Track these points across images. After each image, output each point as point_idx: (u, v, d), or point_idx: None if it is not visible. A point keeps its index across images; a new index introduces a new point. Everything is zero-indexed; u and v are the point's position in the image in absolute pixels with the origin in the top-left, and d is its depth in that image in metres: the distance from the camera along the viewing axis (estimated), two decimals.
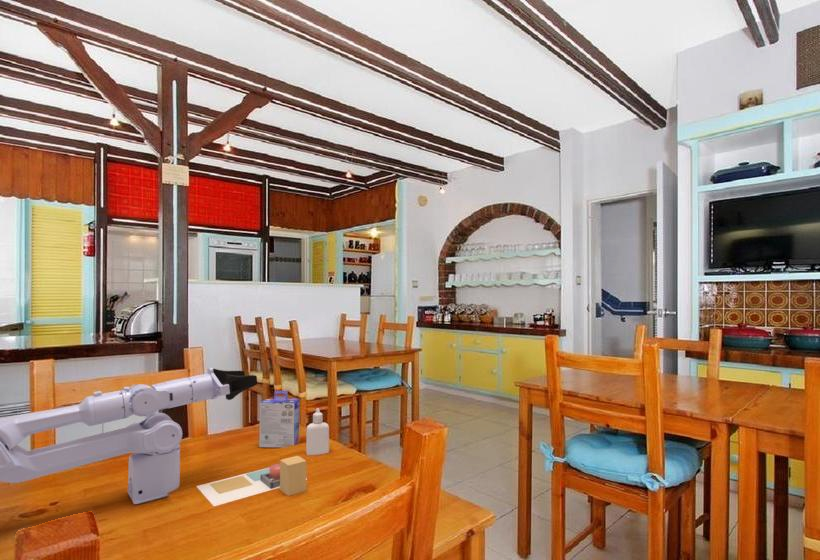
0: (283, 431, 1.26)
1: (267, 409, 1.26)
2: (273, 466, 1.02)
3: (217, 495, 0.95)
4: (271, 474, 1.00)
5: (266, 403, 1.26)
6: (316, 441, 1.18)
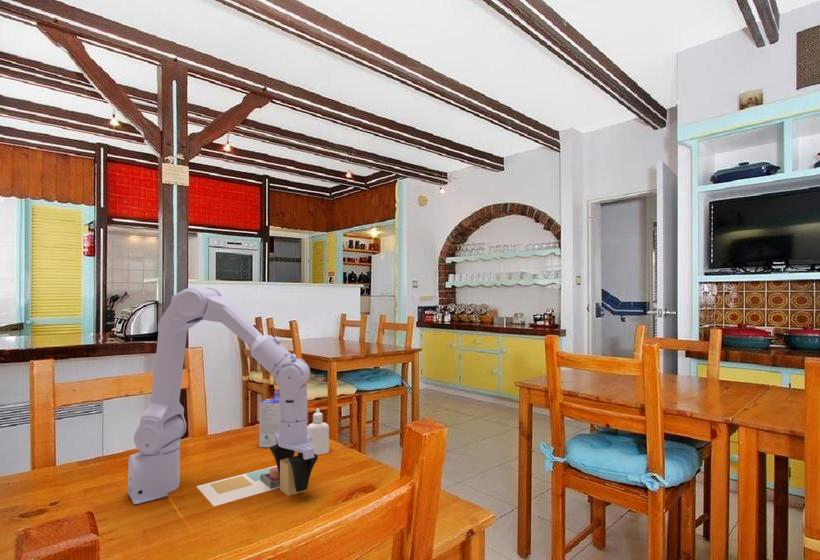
0: None
1: (267, 409, 1.26)
2: (273, 469, 1.02)
3: (217, 495, 0.95)
4: (271, 477, 1.00)
5: (266, 403, 1.26)
6: (316, 441, 1.18)
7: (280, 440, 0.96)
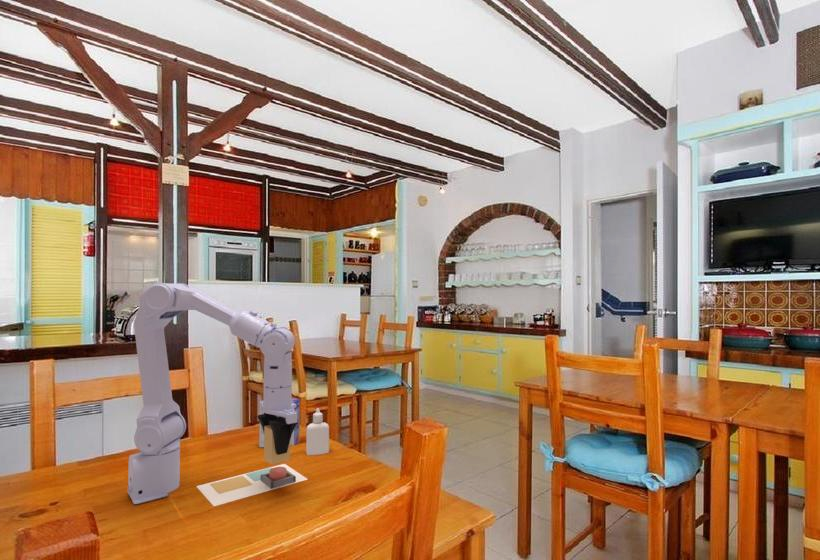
0: None
1: None
2: (273, 469, 1.02)
3: (217, 495, 0.95)
4: (271, 478, 1.00)
5: None
6: (316, 441, 1.18)
7: (264, 406, 0.97)
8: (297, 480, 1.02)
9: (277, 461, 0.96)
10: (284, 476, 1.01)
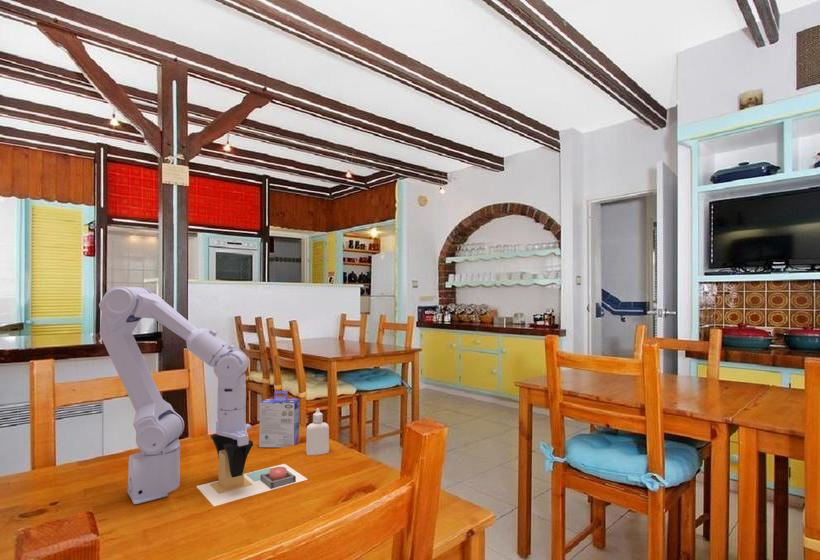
0: (283, 431, 1.26)
1: (267, 409, 1.26)
2: (273, 469, 1.02)
3: (217, 495, 0.95)
4: (271, 478, 1.00)
5: (266, 403, 1.26)
6: (316, 441, 1.18)
7: (218, 428, 0.99)
8: (297, 480, 1.02)
9: (230, 486, 0.98)
10: (284, 476, 1.01)
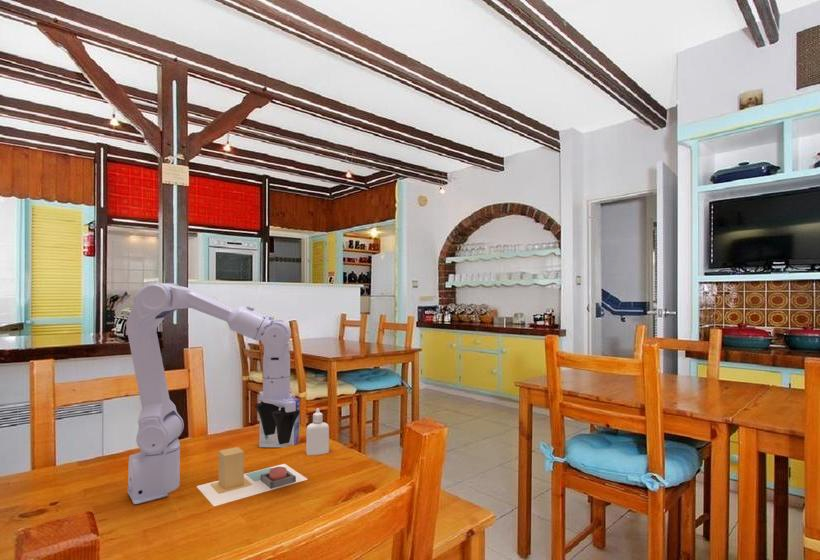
0: None
1: None
2: (273, 469, 1.02)
3: (217, 495, 0.95)
4: (271, 478, 1.00)
5: None
6: (316, 441, 1.18)
7: (264, 396, 1.00)
8: (297, 480, 1.02)
9: (230, 486, 0.98)
10: (284, 476, 1.01)
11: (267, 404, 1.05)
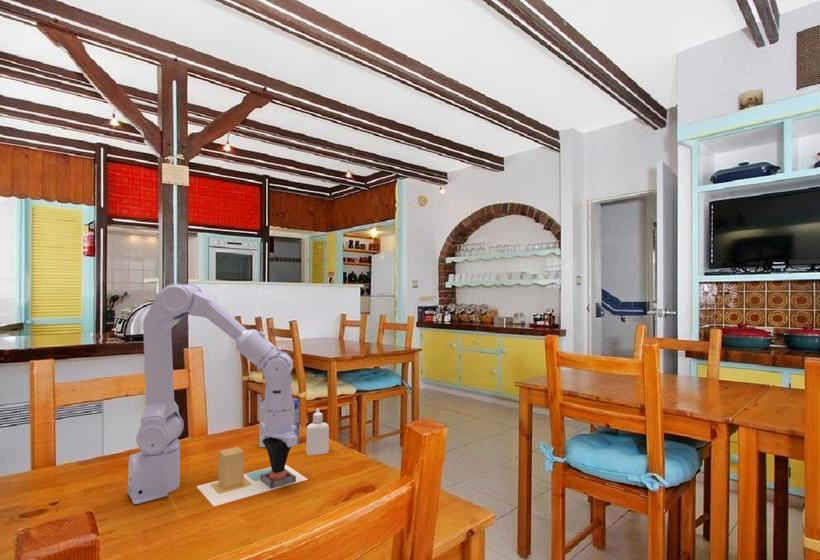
0: None
1: None
2: None
3: (217, 495, 0.95)
4: (271, 479, 1.00)
5: None
6: (316, 441, 1.18)
7: (265, 429, 1.00)
8: (297, 480, 1.02)
9: (230, 486, 0.98)
10: (284, 477, 1.01)
11: None
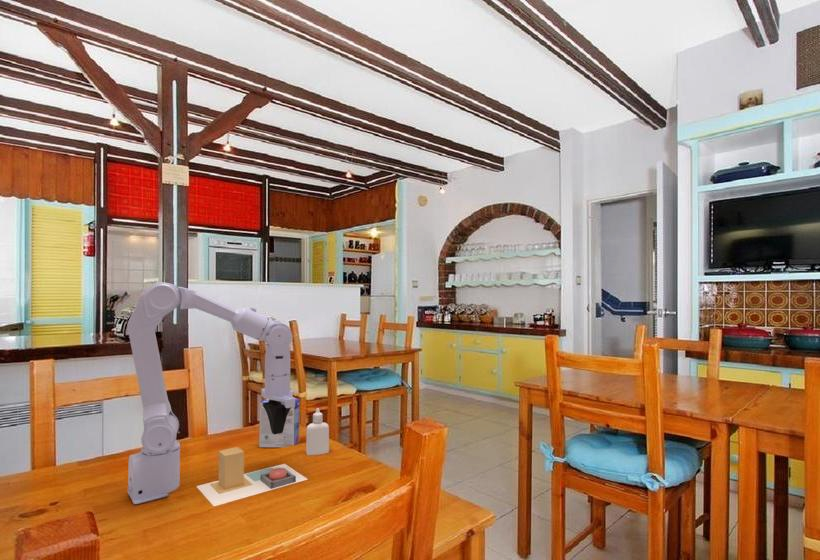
0: (283, 431, 1.26)
1: None
2: (273, 471, 1.02)
3: (217, 495, 0.95)
4: (271, 479, 1.00)
5: None
6: (316, 441, 1.18)
7: (265, 392, 1.06)
8: (297, 480, 1.02)
9: (230, 486, 0.98)
10: (284, 477, 1.01)
11: None
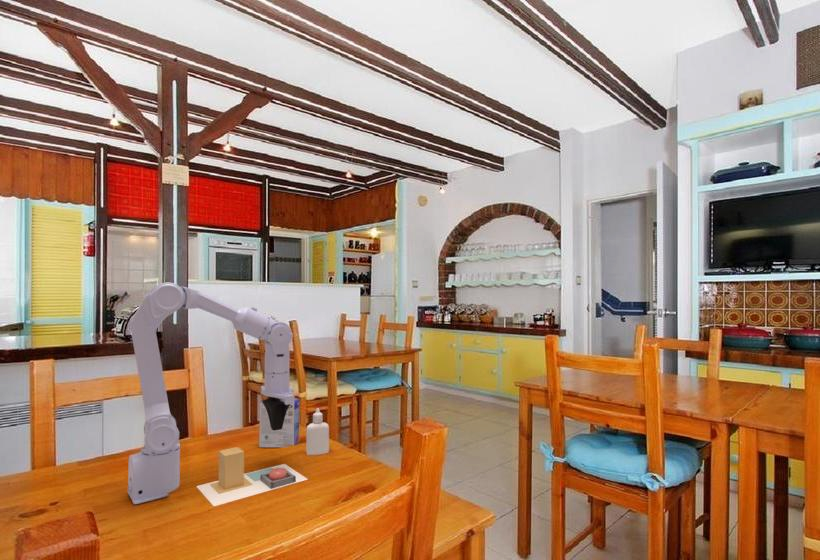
0: (283, 431, 1.26)
1: None
2: (273, 471, 1.02)
3: (217, 495, 0.95)
4: (271, 479, 1.00)
5: None
6: (316, 441, 1.18)
7: (265, 390, 1.09)
8: (297, 480, 1.02)
9: (230, 486, 0.98)
10: (284, 477, 1.01)
11: None
